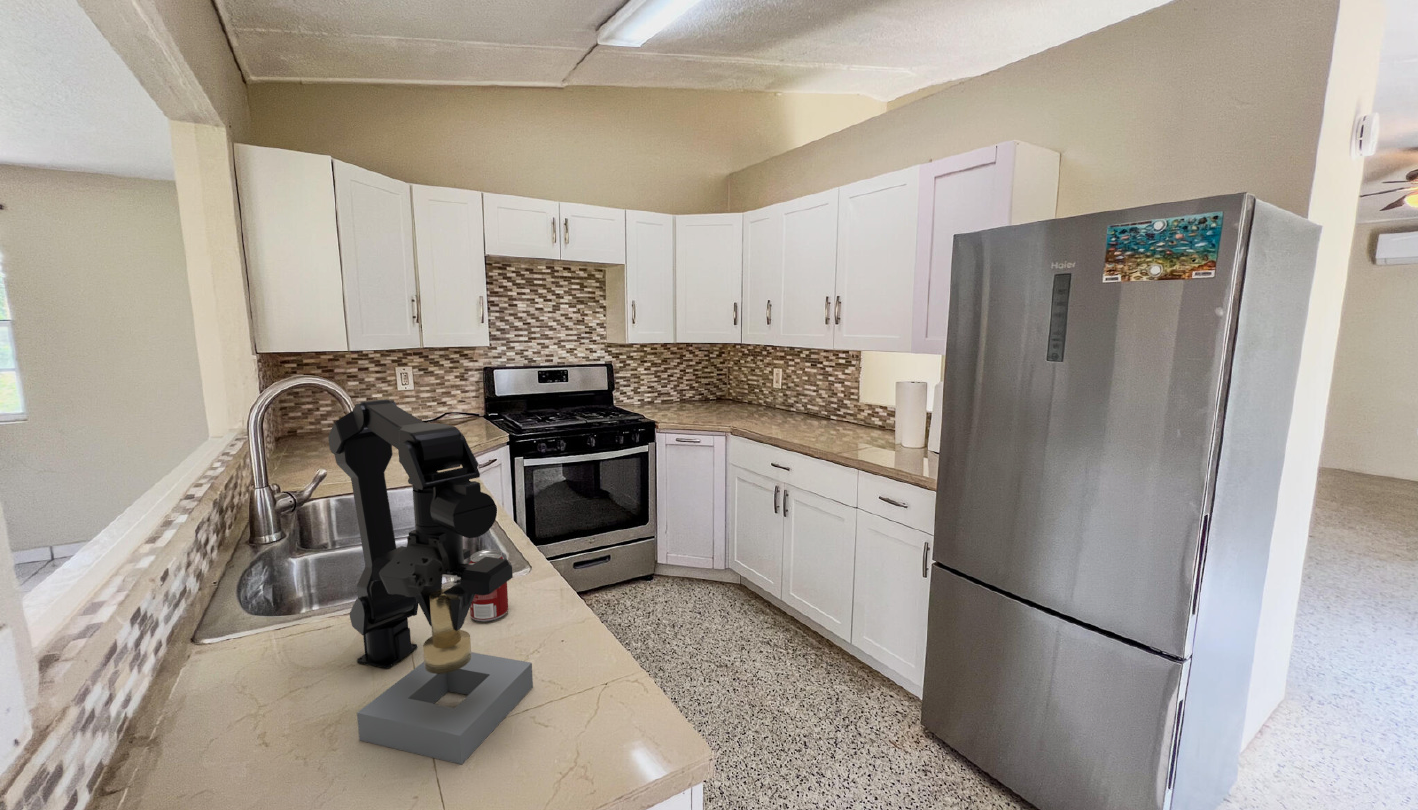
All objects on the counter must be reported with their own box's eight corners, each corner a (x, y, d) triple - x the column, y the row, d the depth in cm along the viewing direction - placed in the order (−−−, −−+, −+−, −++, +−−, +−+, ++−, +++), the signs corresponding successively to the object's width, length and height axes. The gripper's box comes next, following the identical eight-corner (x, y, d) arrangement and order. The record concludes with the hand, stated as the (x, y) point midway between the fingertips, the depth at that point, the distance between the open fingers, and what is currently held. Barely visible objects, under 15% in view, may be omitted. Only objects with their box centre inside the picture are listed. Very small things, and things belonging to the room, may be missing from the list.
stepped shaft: (414, 669, 78) (409, 601, 77) (445, 646, 84) (441, 581, 82) (451, 676, 77) (446, 607, 75) (480, 652, 82) (476, 587, 81)
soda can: (495, 626, 104) (492, 563, 103) (462, 622, 106) (458, 560, 104) (515, 608, 111) (512, 549, 109) (484, 604, 112) (480, 546, 111)
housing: (359, 740, 76) (356, 712, 75) (444, 670, 91) (442, 647, 91) (461, 764, 72) (459, 735, 71) (532, 686, 87) (531, 662, 86)
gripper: (331, 534, 72) (342, 648, 74) (456, 549, 67) (464, 671, 69) (399, 507, 83) (408, 608, 85) (512, 518, 78) (517, 625, 80)
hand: (446, 627), depth 80 cm, fingers closed on stepped shaft, 4 cm apart
